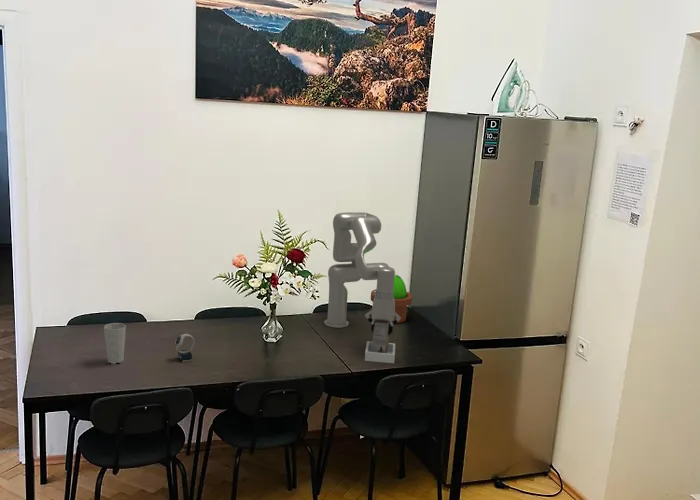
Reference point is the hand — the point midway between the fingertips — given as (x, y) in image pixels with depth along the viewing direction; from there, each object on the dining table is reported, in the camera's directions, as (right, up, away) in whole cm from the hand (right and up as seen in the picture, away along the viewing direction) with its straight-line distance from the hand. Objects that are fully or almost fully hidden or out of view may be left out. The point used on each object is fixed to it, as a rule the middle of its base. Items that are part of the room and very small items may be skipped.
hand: (381, 332), depth 276 cm
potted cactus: (+7, 0, +56) cm, 57 cm away
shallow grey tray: (-1, -11, +2) cm, 11 cm away
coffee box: (-1, -9, +2) cm, 9 cm away
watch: (-84, -9, -15) cm, 86 cm away
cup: (-111, -9, -22) cm, 113 cm away
